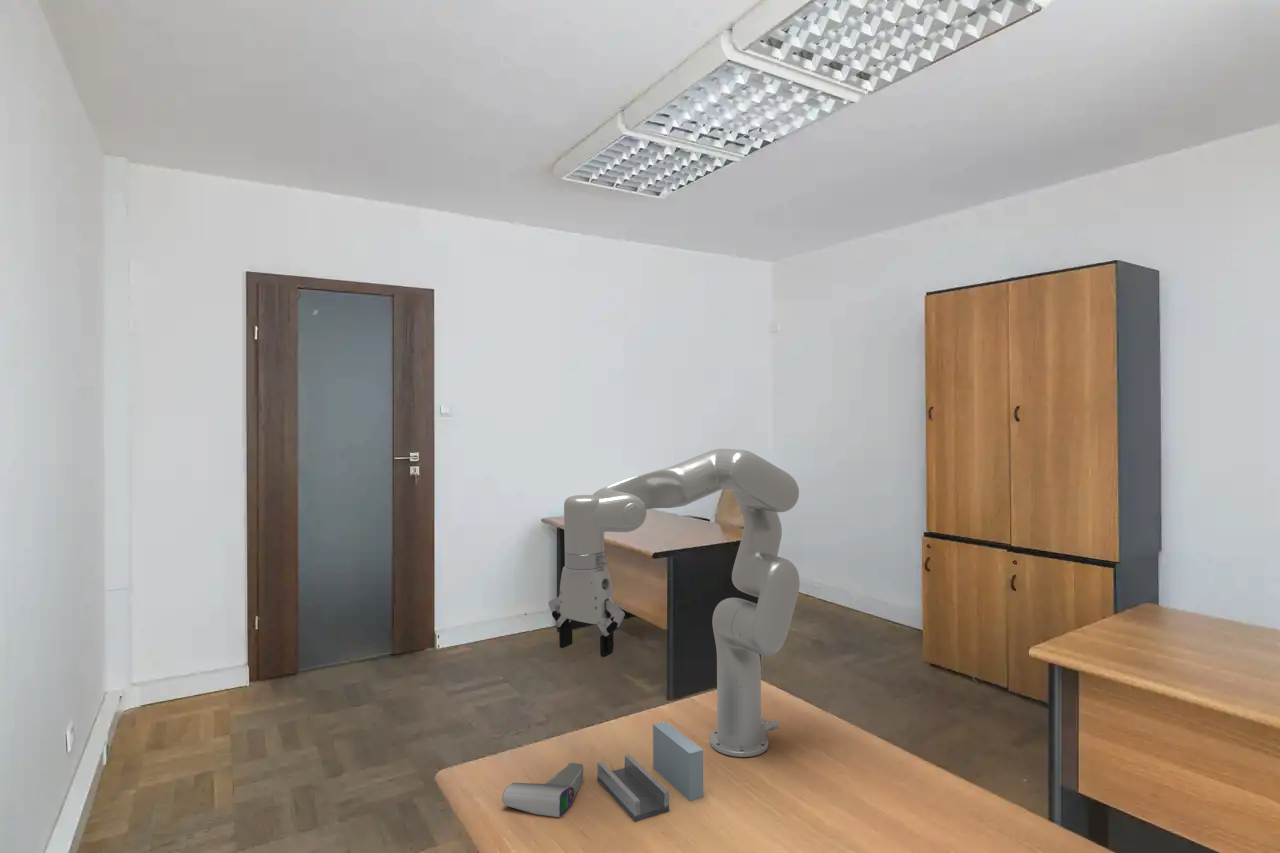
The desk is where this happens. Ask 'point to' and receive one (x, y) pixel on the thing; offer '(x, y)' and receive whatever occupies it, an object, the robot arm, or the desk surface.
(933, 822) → the desk surface
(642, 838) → the desk surface
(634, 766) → the track
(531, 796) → the infrared thermometer
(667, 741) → the grey slab
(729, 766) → the desk surface
